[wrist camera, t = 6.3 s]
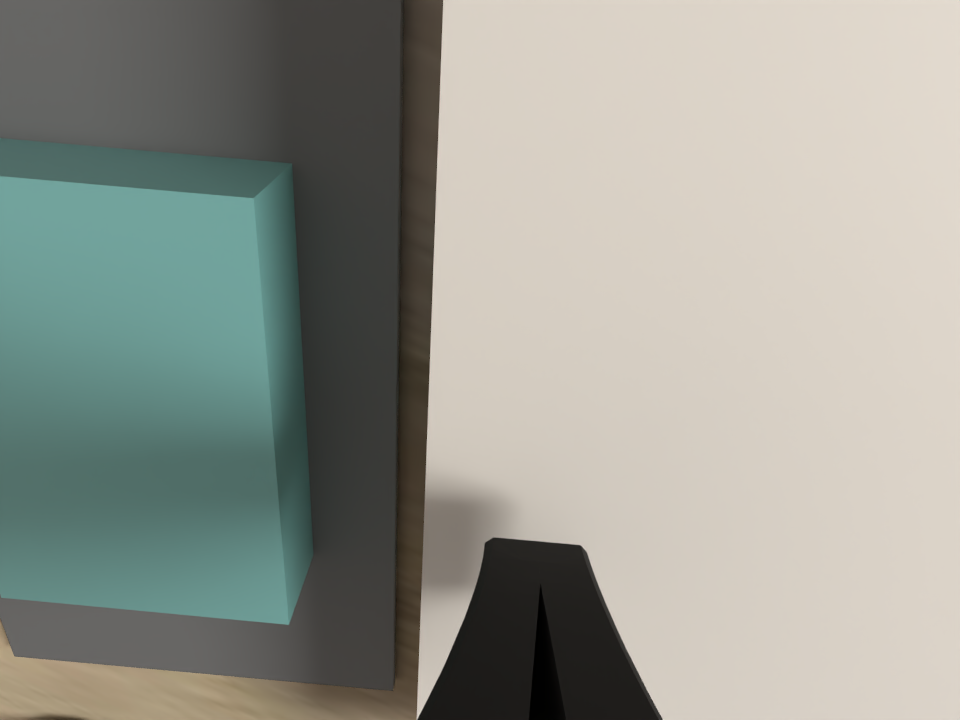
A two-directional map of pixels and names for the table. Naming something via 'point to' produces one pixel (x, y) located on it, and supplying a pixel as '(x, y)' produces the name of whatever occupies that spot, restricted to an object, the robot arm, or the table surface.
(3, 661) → the table surface
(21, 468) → the teal rectangular block
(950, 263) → the cream flat slab
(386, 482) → the mat
